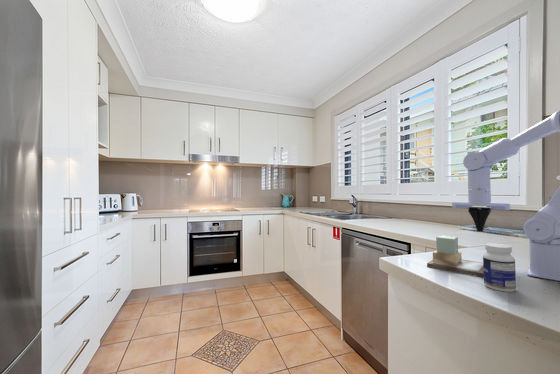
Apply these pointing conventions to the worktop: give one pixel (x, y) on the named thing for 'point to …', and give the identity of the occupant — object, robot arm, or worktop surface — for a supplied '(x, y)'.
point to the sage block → (447, 244)
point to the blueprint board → (481, 273)
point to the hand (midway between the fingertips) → (480, 231)
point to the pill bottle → (499, 267)
